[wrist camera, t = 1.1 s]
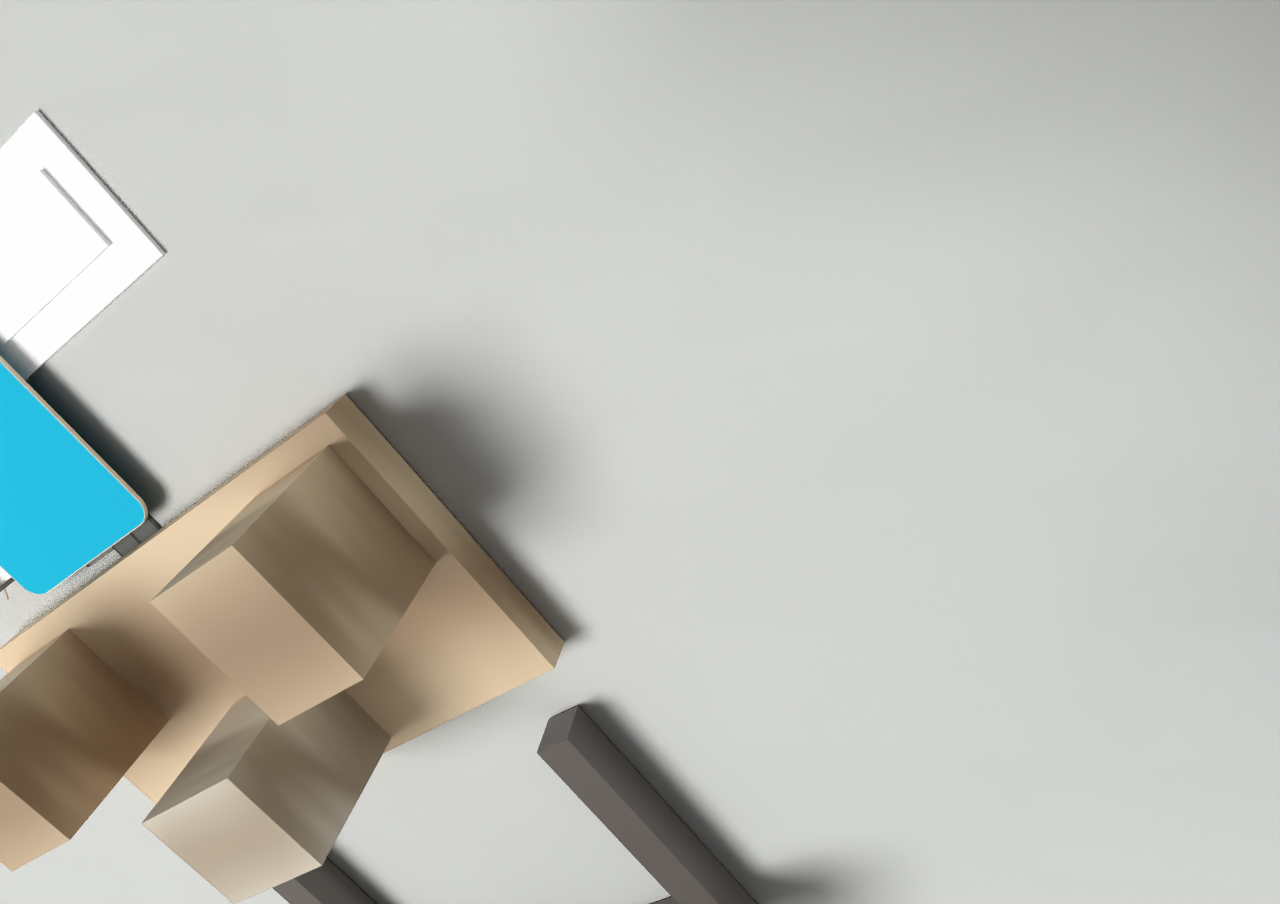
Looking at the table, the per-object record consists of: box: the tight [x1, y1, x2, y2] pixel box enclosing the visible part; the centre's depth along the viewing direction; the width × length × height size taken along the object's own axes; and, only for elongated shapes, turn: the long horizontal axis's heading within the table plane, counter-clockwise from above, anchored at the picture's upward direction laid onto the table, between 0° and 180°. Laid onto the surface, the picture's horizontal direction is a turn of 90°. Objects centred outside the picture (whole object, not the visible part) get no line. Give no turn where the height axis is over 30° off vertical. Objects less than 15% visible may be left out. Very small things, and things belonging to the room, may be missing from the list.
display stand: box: [0, 394, 564, 904], centre depth 24 cm, size 8×14×5 cm, turn 126°
